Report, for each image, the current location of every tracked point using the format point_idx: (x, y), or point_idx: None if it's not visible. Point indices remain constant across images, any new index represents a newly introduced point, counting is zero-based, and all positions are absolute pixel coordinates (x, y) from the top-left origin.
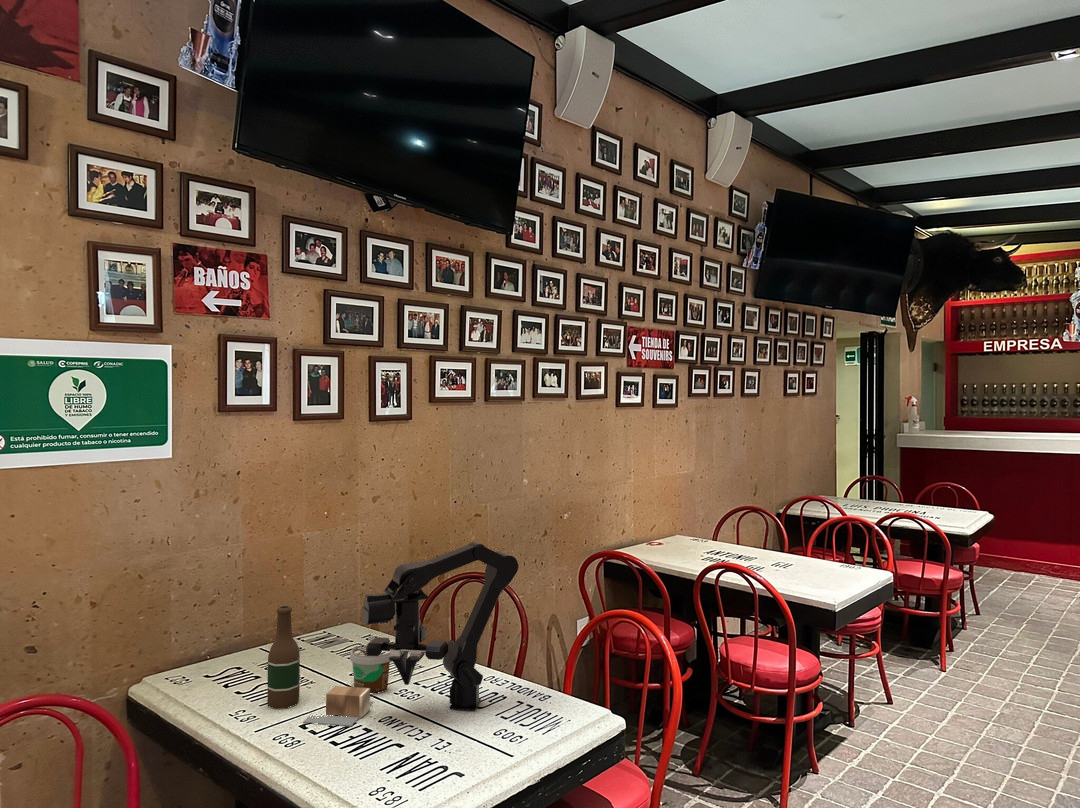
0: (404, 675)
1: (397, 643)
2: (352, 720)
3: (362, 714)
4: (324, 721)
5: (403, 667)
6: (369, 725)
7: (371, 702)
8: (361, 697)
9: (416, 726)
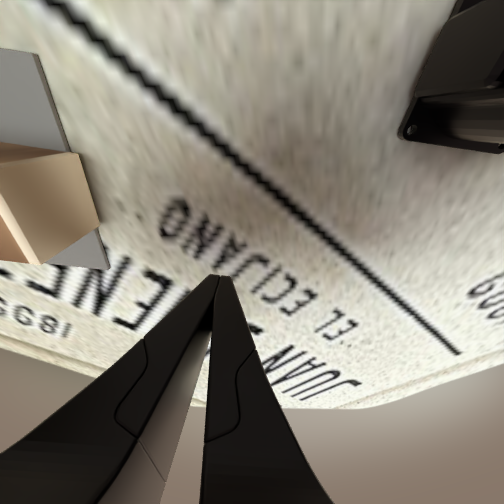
0: (200, 366)
1: None
2: (88, 244)
3: (94, 223)
4: None
5: (173, 443)
6: (150, 259)
7: (31, 71)
8: (43, 262)
9: (276, 262)
